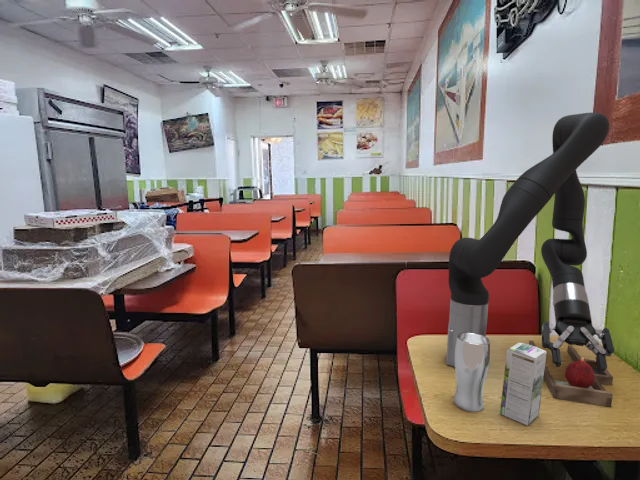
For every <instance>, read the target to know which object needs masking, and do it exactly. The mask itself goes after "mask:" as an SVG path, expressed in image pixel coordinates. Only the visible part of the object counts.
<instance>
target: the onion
mask: <svg viewBox="0 0 640 480" xmlns="http://www.w3.org/2000/svg"><path fill="white" fill-rule="evenodd" d="M585 359H586V358H585V357H582V356H581V358H580V360H579V361H575V362H574V361H572V362H570V363H569V364H567V366H566V367H565V370H564V377H565V380H566V382H568V383H569V384H570V385H571V386H574V387H581V388H589V387H590V386H591V385H592V384H593V383H594V380H595V376H594V371H593V369H592V368H591V367H590V365H588V364H587V363H586V361H585Z"/></svg>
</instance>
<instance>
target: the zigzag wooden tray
mask: <svg viewBox="0 0 640 480" xmlns="http://www.w3.org/2000/svg"><path fill="white" fill-rule="evenodd" d="M528 345H531V346H534V347H537V345H536V343H535V342H534V340H528ZM566 351H567V353H568V355H569V357H571V359H572V362H575V361H579V360H580V358H582V356H581V355H580V354H579V353H578V352H577V350H576V348H575V347H574V345H568V344H567V350H566ZM585 361H586V363H587V364H588V365H590V367H591V368H592V369H593V371H594V376H595V380H594V383H593V384H592V385H591V386H590V387H589V388H581V387H574V386H571V385H570V384H569V383H568V382H567V381H563V380H555V379H554V377H553V375H552V373H551V371H550V369H549V368H548V366H545V369H544V377H543V380H544V381H545V384H546V385H547V387H548V389H549V391H550V392H551V396H552V397H553V399H558V400H562V401H568V402H575V401H576V403H582V402H584V403H583V404H588V403H591V404H590V405H594V404H598V405H597V406H601V405H603V406H602V407H607V406H608V408H612V403H613V392H612V391H607V390H606V388H605V387H604V386H609V385H610V386H613V383H614V382H613V381H614V376H613V375H612V374H611V373H610V372H609V370H608V368H607V369H606V370H605V371H604V372H603V373H598V369H597V363H596V359H589V358H585Z"/></svg>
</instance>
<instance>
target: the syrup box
mask: <svg viewBox="0 0 640 480" xmlns="http://www.w3.org/2000/svg"><path fill="white" fill-rule="evenodd" d="M546 359H547V351H546V350H544V349H542V348H539V347H537V346H536V347H534V346H531V345H529V343H528V344H527V343H524V342H517V343H516V344H515V345H513V346H510V347H509V348H508V349H506V356H505V364H504V365H505V366H504V374H503V380H502V381H503V383H502V391H501V392H502V393H501V401H500V410H499V414H500V415H502V416H504V417H506V418H508V419H511V420H513V421H516V422H518V423H519V424H523V425H525V426H527V427H528V426H530V424H531V423H533V421H535V419H537V417H539V416H540V410H541V409H540V408H541V400H542V394H543V393H542V392H543V391H542V390H543V384H544V369H545V367H546Z"/></svg>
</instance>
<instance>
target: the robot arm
mask: <svg viewBox="0 0 640 480" xmlns="http://www.w3.org/2000/svg"><path fill="white" fill-rule="evenodd" d="M609 122H610V121H609V119H608V117H607V116H606V115H604V114H603V113H600V112H584V113H575V114H568V115H566V116H565V115H564V116H562V117H560V118H559V119H558V120H557V121H556V123H555V125H554V127H553V131H552V136H551V137H552V139H551V142H552V154H550V155H549V156H547V157H545V158H544V159H543V160H540V161H539V162H538V163H536V164H534V165H533V166H530V168H529V169H527V170H526V171H524V172H523V173H522V174H521V175H520V176H519V177H517V179H516V180H515V181H514V182H513V184H511V186H510V187H509V188H508V190H507V191H506V192H505V194H504V195H503V197H502V200H501V203H500V207H499V211H498V214H497V218H496V220H495V221H494V223H493V224H492V226H491V227H490V228H489V229H488V230H487V232H485V234H484V235H482V237H480V238H479V239H477V238H472V237H462V238H459V239H457V240H456V241H455V242H454V243H453V245H452V247H451V249H450V252H449V256H448V288H449V291H450V303H449V318H448V319H449V320H448V324H447V325H448V327H447V339H446V340H447V343H446V353H445V354H446V357H445V359H446V362H445V364H446V365H447V366H451V367H454V368H455V347H456V341H457V335H458V334H460V333H477V334H481V335H483V336H486V335H487V324H488V314H489V313H488V312H489V310H488V309H489V301H490V293H489V291H488V289H487V288H486V286H485V285H484V283H483V280H482V278H486V277H488V276H490V275H491V274H492V273H494V271H496V269H497V268H498V267H499V265H501V263H502V261H503V260H504V259H505V256H506V255H507V254H508V253H509V251H510V249H511V247H512V246H513V245H514V244H515V242H516V241H517V240H518V238H519V237H520V236H521V234H523V232H524V231H525V230H526V228H527V227H528V226H529V225H530V224H531V223H532V221H533V220H534V219H535V218H536V216H537V215H538V214H539V213H540V212H541V211H542V210H543V209H544V208H545V206H546V205H547V204H548V203H549V201H551V200H552V197H553V196H554V203H553V211H552V219H551V220H552V221H551V226H552V228H553V229H555V230H558V231H561V232H565V233H569V234H570V238H571V239H570V238H547V239H546V240H545V241H544V242H543V243H542V244H541V247H540V248H541V250H540V253H541V257H542V260H543V262H544V264H545V266H546V269H547V270H548V273H549V274H550V278H551V281H552V282H551V283H552V305H553V309H554V310H553V311H554V312H553V313H554V318H555V320H554V321H555V324H550V322H548V321H544V322H543V324H542V325H541V346H542V348H543V349H548V350H550V352H551V362H552V364H553V365H555V367H556V368H560V367H561V366H562V356H561V349H560V348H561V346H562V345H563V344H564V343H565V344H567V346H568V345H572V346H574V345H575V346H579V347H584V346H585V347H586V349H587V350H589V351H591V352H592V353H593V354H594V355H595V356H596V357H595V361H596V363H597V369H598V373H603V372H604V371H605V370H606V369H607V370H608V362H607V358H606V357H611V356H612V354H613V353H615V348H614V343H613V339H612V335H611V332H610V330H609V328H607V327H604V328H602V329H600V328H599V329H597V328H596V329H595V327H594V325H593V319H592V315H591V309H590V303H589V299H588V294H587V291H586V286H585V281H584V275H583V272H582V270H581V269H580V268H578V267H577V266H581V265H582V264H583V263H585V261H586V260H587V257H588V252H587V251H588V250H587V246H586V242H585V236H584V235H585V234H584V228H583V227H584V225H583V223H584V217H585V216H584V215H585V207H586V198H585V192H584V189H583V185H582V184H581V182H580V179H579V176H578V172H577V169H578V168H579V167H580V166H581V165H582V164H583V163H584V162H586V161H587V159H588V158H589V157H590V156H592V155H593V154H594V153H595V152H596V151H597V150H598V149H599V148H600V147H601V146H602V145H603V143H604V142H605V140H606V139H607V137H608V134H609V131H610V123H609ZM553 331H554V332H555V333H556V334H557V336H559V337H558V338H557V339H556V340H555V342H552V341H551V339H550V337H551V336H550V335H551V334H552V332H553ZM595 335H596V336H597V338H598V339H599V340H601V345H600V343H599V341H598V340H597V339H596V338H595V337H594V336H595ZM486 337H487V336H486Z"/></svg>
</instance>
